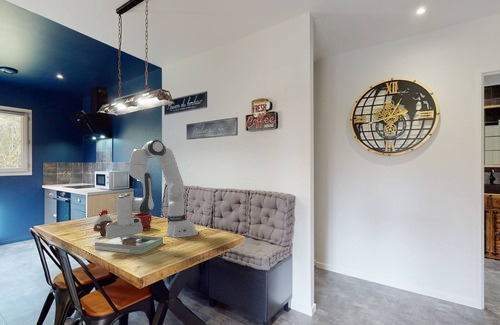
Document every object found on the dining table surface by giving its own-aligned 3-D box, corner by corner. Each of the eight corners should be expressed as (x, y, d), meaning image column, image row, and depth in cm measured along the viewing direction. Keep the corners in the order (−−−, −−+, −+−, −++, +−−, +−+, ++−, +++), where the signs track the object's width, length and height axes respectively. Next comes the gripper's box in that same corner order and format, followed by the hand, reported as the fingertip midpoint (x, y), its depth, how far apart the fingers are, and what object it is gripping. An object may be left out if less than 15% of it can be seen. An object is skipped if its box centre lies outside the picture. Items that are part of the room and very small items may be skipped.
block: (122, 246, 149) (122, 239, 149) (132, 243, 153) (132, 237, 153) (125, 248, 145) (125, 241, 145) (136, 245, 149) (136, 239, 149)
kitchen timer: (117, 227, 203) (117, 208, 203) (104, 231, 189) (103, 212, 189) (103, 226, 206) (103, 208, 206) (89, 230, 192) (88, 211, 192)
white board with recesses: (94, 248, 150) (94, 242, 150) (120, 239, 169) (120, 233, 169) (141, 254, 140) (141, 247, 140) (163, 243, 159) (162, 237, 159)
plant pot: (136, 227, 201) (136, 212, 201) (153, 226, 202) (153, 212, 202) (130, 231, 188) (130, 216, 188) (148, 231, 189) (148, 215, 189)
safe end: (129, 252, 143) (129, 246, 143) (152, 242, 162) (152, 236, 162) (141, 254, 140) (141, 248, 140) (163, 243, 159) (162, 237, 159)
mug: (96, 238, 172) (96, 224, 172) (91, 236, 176) (91, 223, 177) (114, 233, 182) (114, 221, 182) (108, 232, 186) (108, 220, 187)
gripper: (106, 224, 142) (106, 248, 142) (143, 218, 155) (143, 240, 155) (104, 222, 147) (104, 245, 147) (140, 217, 160) (140, 238, 160)
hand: (125, 243), depth 151 cm, fingers closed
